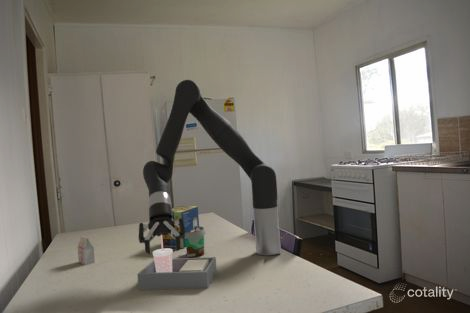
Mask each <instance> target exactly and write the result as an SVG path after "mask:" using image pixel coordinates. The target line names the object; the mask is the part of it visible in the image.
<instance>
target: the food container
mask: <svg viewBox="0 0 470 313" xmlns="http://www.w3.org/2000/svg"><path fill="white" fill-rule="evenodd" d="M206 233H207V232H206V229H205V227H203V226H201V225H199V226H194V229H193V230H190V231H189V233H185V240H186V247H185V248H186V256H187V257H186V258H201V257H202V256H204V255H205V236H206Z"/></svg>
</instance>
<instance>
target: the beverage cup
mask: <svg viewBox="0 0 470 313" xmlns="http://www.w3.org/2000/svg"><path fill="white" fill-rule="evenodd" d="M160 243H161V244H160V245H161V248H158V249H155V250H153V251H152V256H153V260H154V261H155V268H156V273H159V272H172V259H173V254H174V251H173V250H174V249H173V248H165V247H163V238H162V235H161V236H160Z"/></svg>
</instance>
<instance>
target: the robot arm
mask: <svg viewBox="0 0 470 313" xmlns="http://www.w3.org/2000/svg"><path fill="white" fill-rule="evenodd" d="M189 114H190V115H191V116H193V117H194V118H195V119H196V120H197V121H198V122H199V124H200V126H202V128H203V129H204V130H205V132H206V134H207V135H208V136H209V137H210V138H211V139H212V141H213V142H214V143H215V144H216V145H217V146H218V147H219V148H220V149H221V150H222V151H223V152H224V154H226V155H227V156H228V157H230V159H232V160H234V162H236V163H237V165H239V167H240V168H241V169H242V170H243V172H244V173H245V175H246V176H248V178H249V179H250V181H251V182H250V183H251V194H252V212H253V227H254V240H255V254H258V255H260V256H274V255H279V254H282V252H281V250H282V249H281V235H280V234H281V233H280V223H279V213H278V185H277V184H278V183H277V175H276V172H275V169H273V168H272V167H271V166H270V165H268V164H266V163H265V162H264V161H262V159H260V158H259V156H257V155H256V154H255V153H254V152H253V151H252V149H251V147H250V146H249V144H248V143H247V141H246V140H245V138H244V137H243V135H241V134H240V132H239V131H238V129H236V127H234V125H232V123H231V122H230V121H229V120H228V119H227V118H225V117H224V116H222V115H221V114H220V113H218V112H217V111H216V110H214V109H213V108H212V107H211V106H210V104H209V103H208V102H207V101H206V99H205V97H203V95H202V93H201V91H200V87H199V85H198V83H196V82H195V81H193V80H191V79H184V80H182V81H180V82H179V83H178V84H177V85H176V88H175V92H174V98H173V103H172V107H171V109H170V113H169V115H168V116H169V117H168V119H167V122H166V125H165V127H164V129H163V132H162V134H161V137H160V140H159V141H158V145H157V146H156V150H155V153H156V155H157V156H159V157H160V158H162V159H163V163H161V162H158V161H155V160H150V161H147V162H146V163H145V164H144V166H143V170H142V175H143V176H142V177H143V180H144V182H145V184H146V188H147V189H148V219H149V220H148V221H149V222H148V223H145V224H144V223H143V222H140V223H139V225H138V242H139V244H144V250H145V251H144V252H145V253H146V254H147V255H151V244H150V243H151V241H152V240H154V238H155V237H161V235H167V234H169V235H170V236H172V237H174V238H175V242H176V248H175V251H180V250H179V249H181V248H180V247H181V245H180V239H181V238H185V229H184V224H183V219H181V218H180V219H179V220H178V221H174V220H173V216H172V208H173V207H172V200H171V196H170V195H171V194H170V187H169V182H170V181H171V180H172V177H173V173H174V163H175V157H176V154H177V150H178V148H179V145H180V142H181V138H182V137H183V132H184V128H185V124H186V122H187V119H188V116H189ZM175 225H177V227H178V228H179V227H180V232H181V233H178V232H177V231H176V230H175V229H174V228H173V227H174V226H175ZM147 229H148V230H149V231H148V232H147V234H146V236H145V237H144V233H145V232H146V231H147Z"/></svg>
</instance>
